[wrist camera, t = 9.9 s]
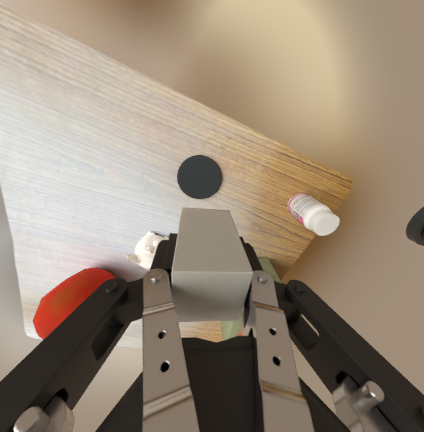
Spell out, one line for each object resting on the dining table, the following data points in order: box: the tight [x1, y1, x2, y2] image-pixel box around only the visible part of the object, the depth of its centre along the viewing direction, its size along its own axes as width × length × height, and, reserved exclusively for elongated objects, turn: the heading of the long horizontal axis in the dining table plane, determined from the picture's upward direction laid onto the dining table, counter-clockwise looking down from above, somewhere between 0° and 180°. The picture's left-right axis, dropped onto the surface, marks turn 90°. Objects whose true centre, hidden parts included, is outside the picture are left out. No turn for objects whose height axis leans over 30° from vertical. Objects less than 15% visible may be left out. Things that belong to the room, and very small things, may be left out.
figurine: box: [127, 231, 169, 270], centre depth 33 cm, size 8×6×7 cm
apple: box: [33, 268, 116, 339], centre depth 32 cm, size 12×12×14 cm
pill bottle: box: [288, 193, 339, 236], centre depth 30 cm, size 5×5×8 cm
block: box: [171, 208, 253, 322], centre depth 12 cm, size 4×4×7 cm
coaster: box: [177, 155, 221, 199], centre depth 30 cm, size 8×8×1 cm
